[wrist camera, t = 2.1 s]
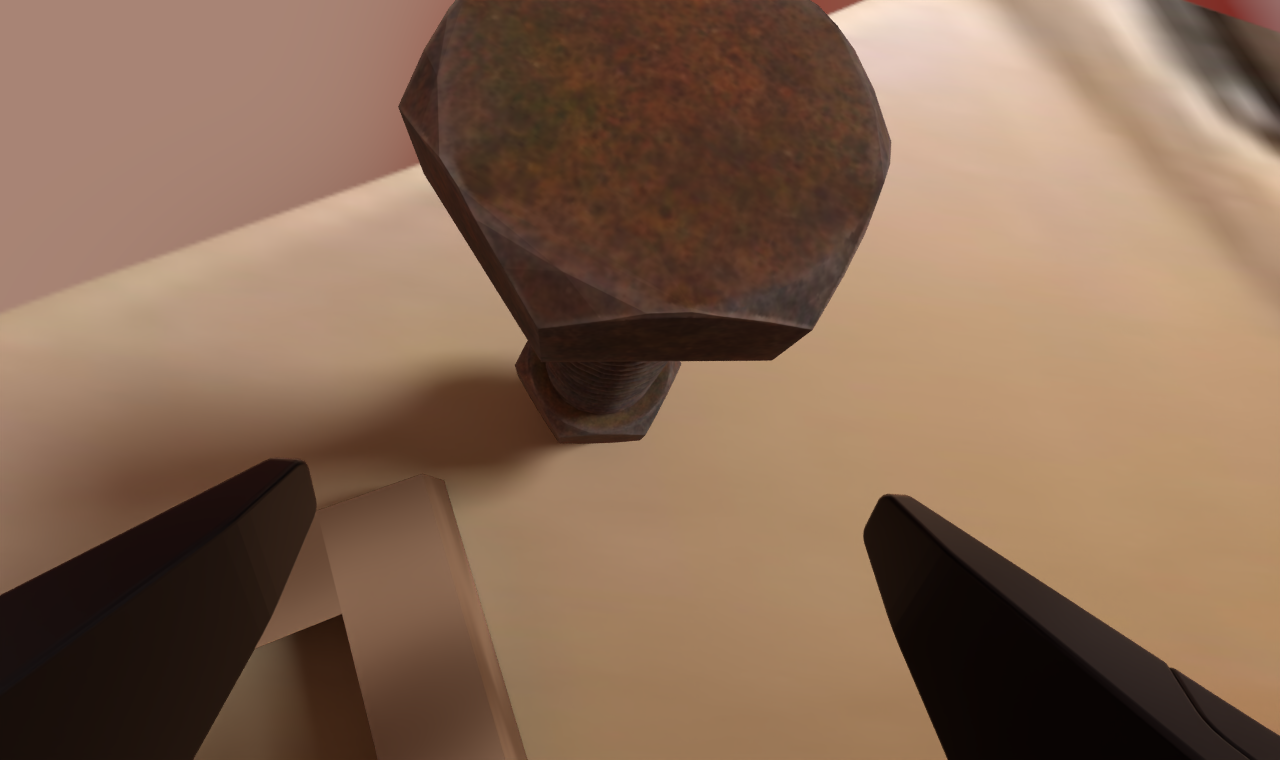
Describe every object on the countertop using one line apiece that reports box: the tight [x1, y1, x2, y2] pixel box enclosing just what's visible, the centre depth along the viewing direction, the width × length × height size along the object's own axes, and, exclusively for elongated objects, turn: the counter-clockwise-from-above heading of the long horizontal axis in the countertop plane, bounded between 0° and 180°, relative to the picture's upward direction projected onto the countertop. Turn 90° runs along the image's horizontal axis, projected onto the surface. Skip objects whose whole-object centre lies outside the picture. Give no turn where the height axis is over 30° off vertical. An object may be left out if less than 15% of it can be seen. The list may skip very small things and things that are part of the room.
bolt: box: [398, 0, 891, 444], centre depth 13 cm, size 6×5×15 cm
